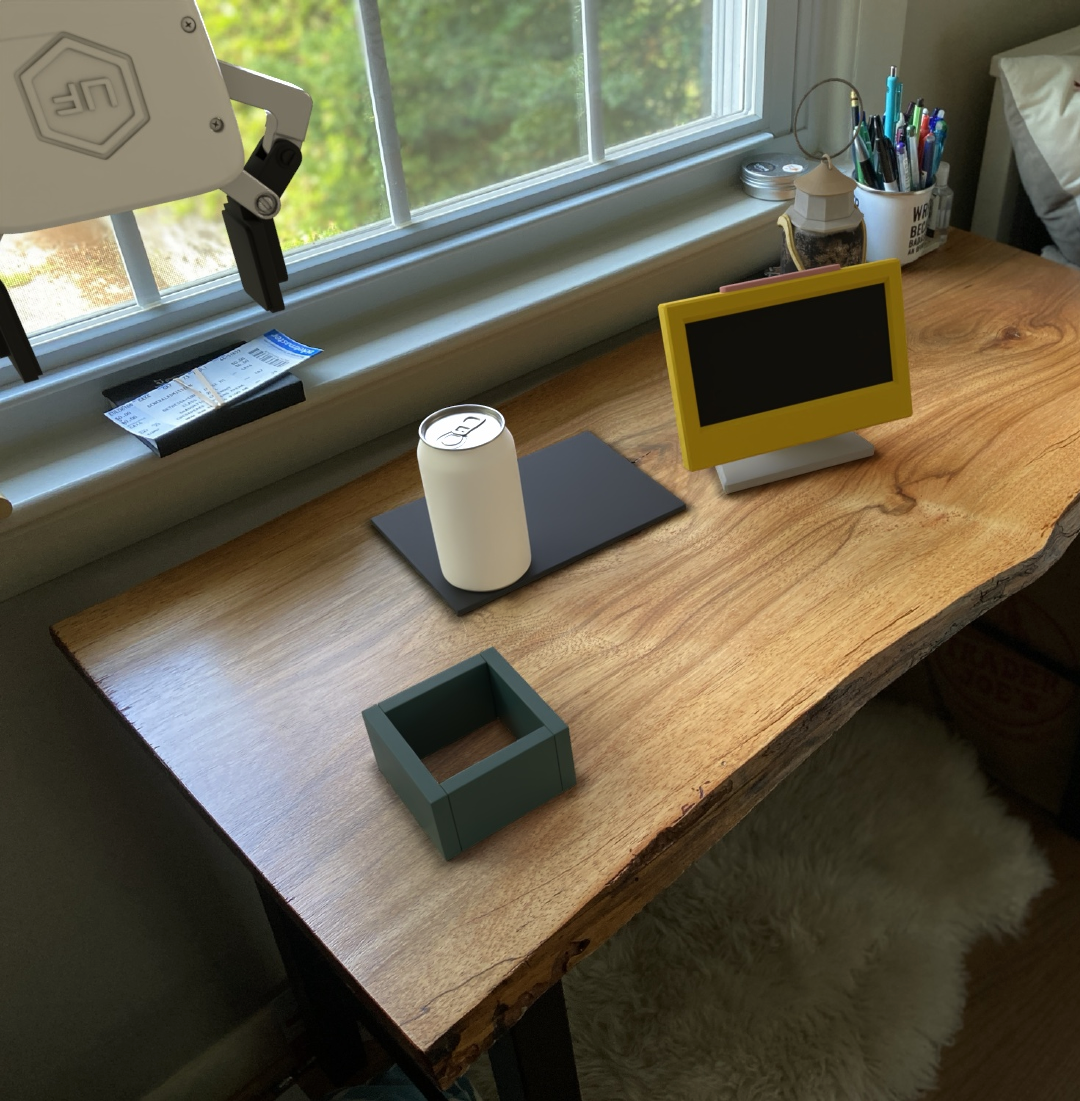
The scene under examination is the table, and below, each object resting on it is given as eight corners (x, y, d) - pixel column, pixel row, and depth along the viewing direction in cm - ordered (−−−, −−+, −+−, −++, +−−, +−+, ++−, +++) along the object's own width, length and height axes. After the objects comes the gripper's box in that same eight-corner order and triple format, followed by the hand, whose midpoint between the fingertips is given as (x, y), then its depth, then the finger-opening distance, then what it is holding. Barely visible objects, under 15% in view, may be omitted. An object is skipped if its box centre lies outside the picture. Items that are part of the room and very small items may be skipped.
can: (424, 582, 79) (391, 440, 72) (473, 531, 84) (448, 393, 76) (502, 604, 77) (477, 461, 70) (548, 551, 82) (529, 412, 74)
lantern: (836, 321, 112) (852, 60, 96) (877, 356, 106) (901, 84, 91) (759, 339, 109) (763, 72, 94) (797, 375, 103) (808, 98, 88)
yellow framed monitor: (691, 508, 87) (685, 326, 77) (655, 458, 93) (645, 282, 83) (909, 450, 93) (929, 275, 84) (864, 406, 99) (877, 237, 89)
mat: (458, 617, 77) (457, 611, 77) (371, 523, 86) (370, 518, 85) (686, 509, 87) (686, 503, 87) (588, 434, 95) (587, 430, 95)
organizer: (446, 862, 61) (430, 804, 58) (378, 768, 66) (360, 711, 63) (577, 784, 65) (569, 726, 62) (503, 702, 71) (493, 645, 67)
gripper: (-350, -112, 29) (-66, 440, 40) (288, -155, 38) (383, 307, 48) (-360, -139, 34) (-102, 362, 44) (212, -172, 42) (314, 253, 53)
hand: (151, 333), depth 46 cm, fingers open, 9 cm apart
